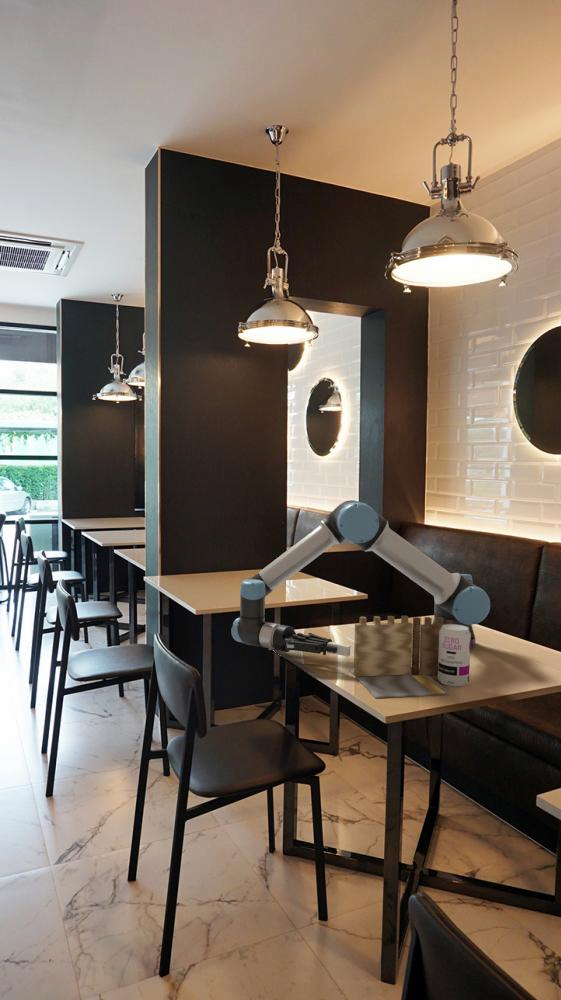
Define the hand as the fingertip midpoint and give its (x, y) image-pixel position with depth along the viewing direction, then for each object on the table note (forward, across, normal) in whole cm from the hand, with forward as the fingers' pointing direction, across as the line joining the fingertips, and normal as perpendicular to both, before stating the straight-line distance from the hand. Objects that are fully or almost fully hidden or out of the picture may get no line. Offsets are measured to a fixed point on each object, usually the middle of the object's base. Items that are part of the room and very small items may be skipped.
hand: (348, 651), depth 184 cm
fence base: (+16, -5, -6) cm, 18 cm away
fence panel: (+8, -4, -6) cm, 11 cm away
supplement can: (+26, -11, -7) cm, 29 cm away
